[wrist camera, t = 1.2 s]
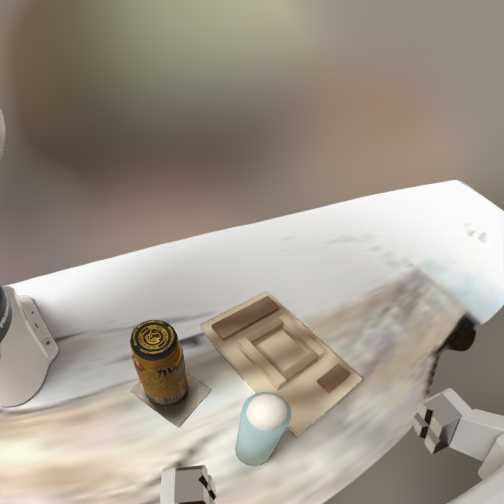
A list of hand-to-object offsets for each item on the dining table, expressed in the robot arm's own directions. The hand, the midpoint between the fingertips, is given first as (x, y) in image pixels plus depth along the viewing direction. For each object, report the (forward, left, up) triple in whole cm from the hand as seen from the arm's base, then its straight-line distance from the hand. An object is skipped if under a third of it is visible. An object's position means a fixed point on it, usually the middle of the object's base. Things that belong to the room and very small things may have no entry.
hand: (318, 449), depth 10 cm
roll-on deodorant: (-6, +5, -29) cm, 30 cm away
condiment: (-19, +1, -29) cm, 35 cm away
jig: (-15, +17, -29) cm, 37 cm away
